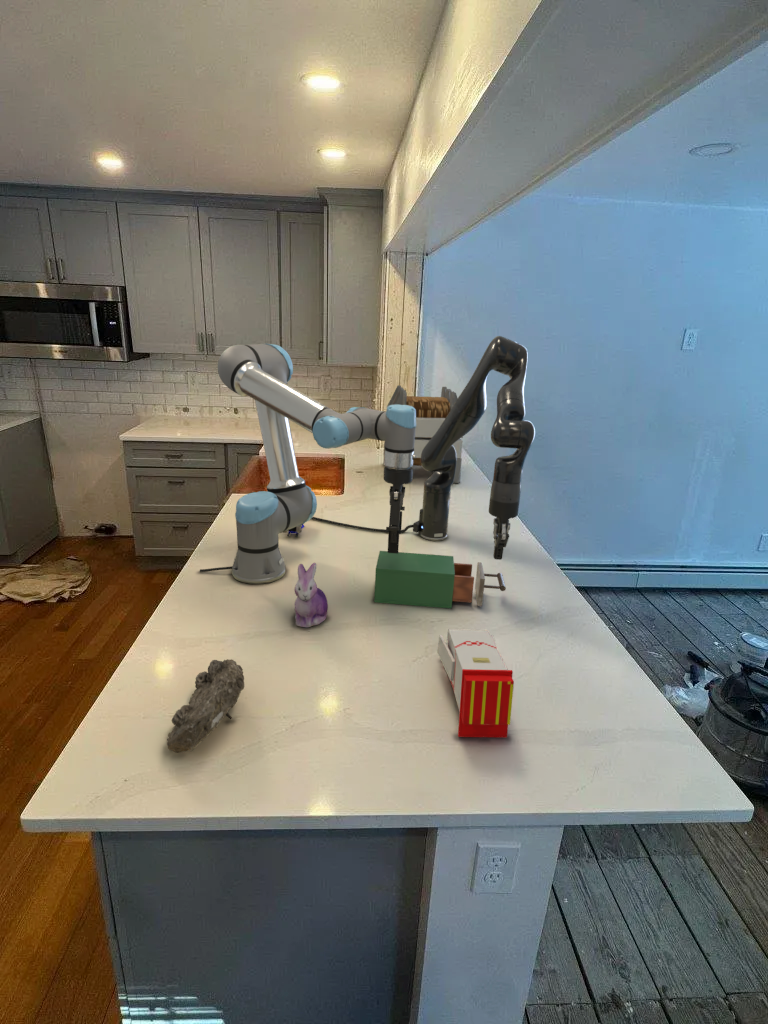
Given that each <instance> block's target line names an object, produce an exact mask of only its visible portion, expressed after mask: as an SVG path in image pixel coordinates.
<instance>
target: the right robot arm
mask: <svg viewBox="0 0 768 1024" xmlns="http://www.w3.org/2000/svg"><path fill="white" fill-rule="evenodd" d="M528 360H529V358H528V349H527V348H526V347H525V346H524V345H523V344H520V343H519V342H517V341H514V340H512V339H509V338H507V337H505V336H502V335H497V336H495V337H494V338H493V339H491V340H490V343H489V344H488V346H487V347H486V349H485V351H484V352H483V354H482V356H481V358H480V360H479V362H478V364H477V366H476V368H475V369H474V371H473V374H472V375H471V376H470V378H469V380H468V382H467V384H466V385H465V387H464V388H463V389H462V392H461V393H460V394H459V396H457V398H458V399H457V400H456V402H455V403H454V405H453V407H452V408H451V410H450V412H449V414H448V415H447V417H446V418H445V420H444V421H443V423H442V424H441V426H440V428H439V429H438V431H437V432H436V433H435V435H434V436H433V437H432V438H431V439H430V441H429V442H428V443H427V444H426V446H425V447H424V449H423V451H422V453H421V459H420V461H421V465H422V466H421V467H422V469H423V470H424V471H426V472H428V473H429V472H430V473H432V474H431V475H430V476H429V477H427V478H426V479H425V480H424V482H423V493H422V496H423V497H422V506H421V508H420V509H419V516H418V520H417V521H415V522H413V523H412V524H408V525H407V526H405V527H404V528H403V529H401V534H402V533H406V531H408V530H409V529H411V528H412V532H414V533H417V535H418V536H420V538H421V539H424V540H426V541H432V542H440V541H444V540H446V539H447V538H448V525H449V517H450V516H449V514H450V504H451V494H452V493H451V491H452V486H453V484H454V483H453V482H454V476H455V469H456V461H457V455H456V450H455V448H454V446H453V444H454V443H455V442H456V441H458V440H459V439H463V438H464V437H465V436H466V435H467V434H468V433H470V431H472V430H473V429H474V428H475V427H476V426H477V424H478V423H479V421H480V420H481V418H482V417H483V415H484V414H485V412H486V410H487V389H486V388H487V386H486V385H487V378H488V376H489V374H490V372H491V371H495V372H497V373H499V374H501V375H504V376H508V377H509V380H508V381H506V382H505V383H504V384H502V386H501V387H500V388H499V390H498V392H497V395H496V417H495V420H494V422H493V425H492V427H491V431H490V440H491V443H492V444H493V445H494V446H495V447H496V448H499V449H500V448H501V449H515V451H514V452H513V453H511V454H507V455H502V456H498V457H496V459H495V461H494V469H493V478H492V482H491V487H490V494H489V503H488V513H489V514H490V515H491V516H492V517H494V518H493V531H492V534H493V545H494V548H493V559H494V560H499V561H501V560H502V559H503V555H504V548H506V547H507V544H508V542H509V538H510V533H509V531H510V529H511V522H510V519H514V518H516V517H517V516H519V508H520V501H521V493H522V478H523V471H524V470H523V469H524V465H525V461H526V459H527V456H528V455H529V454H528V453H529V451H530V450H531V447H532V445H533V442H534V440H535V436H536V429H535V426H534V424H533V423H532V422H531V421H530V420H524V419H525V416H526V406H525V383H526V375H527V369H528V368H527V367H528ZM462 437H463V438H462ZM310 520H313V521H318V522H323V523H327V524H331V525H336V526H341V527H345V528H350V529H357V530H361V531H362V530H363V531H369V532H376V533H387V534H389V530H386V528H385V529H384V528H382V529H381V528H374V527H366V526H359V525H354V524H348V523H343V522H338V521H334V520H329V519H325V518H320V517H315V516H313V517H312V518H311V519H310Z"/></svg>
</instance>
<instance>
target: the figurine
mask: <svg viewBox="0 0 768 1024" xmlns="http://www.w3.org/2000/svg"><path fill="white" fill-rule="evenodd" d="M316 573H317V563H316V562H313V563H311V565H310V566H309V567H308V569H307V570H306V567H305V566H304V565H303V563H300V564H298V566H297V575H298V576H297V578H298V579H297V581H296V583H295V586H294V589H293V590H294V594H295V596H296V598H295V601H294V612H295V615H294V619H295V626H297V627H302V628H311V627H312V626H313V627H314V626H318V625H320V624H322V623H323V622H324V621H325V620H326V619H327V616H328V610H329V604H328V598H327V595H326V594H325V592H324V591H323V590H322V589H321V588H319V587H318V586H317V583H316V581H315V575H316Z"/></svg>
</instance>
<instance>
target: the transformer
mask: <svg viewBox="0 0 768 1024" xmlns="http://www.w3.org/2000/svg"><path fill="white" fill-rule="evenodd" d="M440 393H441V394H440V396H415V395H414V396H413V395H412V396H411V395H407V394H408V393H407V390H406V389H404V388H403V387H402V385H399V384H398V385H397V386H396V388H395V390H394V392H393V394H392V395H391V398H390V400H389V402H388V404H387V405H386V408H387V407H388V406H389V405H396V404H399V405H409V406H412V407H414V408H415V410H416V430H415V443H414V454H413V455H416V458H413V466H412V467H415V466H416V467H417V466H418V467H422V465H421V461H420V459H421V453H422V451H423V449H424V447H425V446H426V444H427V443H428V442H429V441H430V439H431V438H432V437H433V436H434V435H435V433H436V432H437V431H438V429H439V428H440V426H441V424H442V423H443V421H444V420H445V418H446V417H447V415H448V414H449V412H450V410H451V408H452V407H453V405H454V403H455V402H456V400H457V399H458V395H457V392H455V391H453V390H452V389H451V388H447V386H442V387H441V392H440ZM463 438H464V436H463V437H462V438H460V439H459V440H458V441H456V442H455V443H454V444H453V446H454V448H455V450H456V455H457V461H456V469H455V476H454V482H453V484H455V483H456V484H459V483H461V472H462V461H463V460H462V453H463V442H464V441H463V440H462V439H463ZM384 452H385V441H383V453H384ZM383 466H384V467H385V466H386V465H385V464H384V462H383Z"/></svg>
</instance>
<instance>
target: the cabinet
mask: <svg viewBox="0 0 768 1024" xmlns="http://www.w3.org/2000/svg"><path fill="white" fill-rule="evenodd" d="M454 560H455V559H454V555H442V554H431V553H430V554H429V553H417V552H416V553H415V552H403V551H402V552H401V551H398V554H396V553H388V550H379V552H378V557H377V561H376V566H375V577H374V601H373V603H376V604H377V603H378V604H388V605H389V604H390V605H401V606H402V605H403V606H414V607H415V606H416V607H428V608H441V609H452V608H453V601H452V598H453V588H454V577H455V571H454V563H455V561H454Z"/></svg>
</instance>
